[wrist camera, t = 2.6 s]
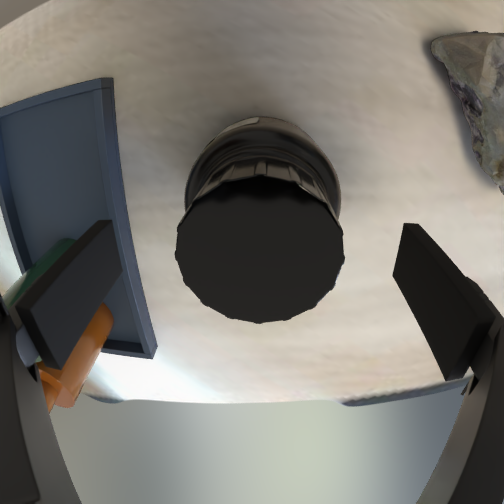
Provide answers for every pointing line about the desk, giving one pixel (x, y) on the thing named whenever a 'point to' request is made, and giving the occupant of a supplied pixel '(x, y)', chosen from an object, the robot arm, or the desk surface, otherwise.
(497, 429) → the robot arm
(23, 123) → the tray
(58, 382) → the amber bottle
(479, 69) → the mineral rock
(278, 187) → the ink bottle
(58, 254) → the green bottle
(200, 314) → the desk surface
